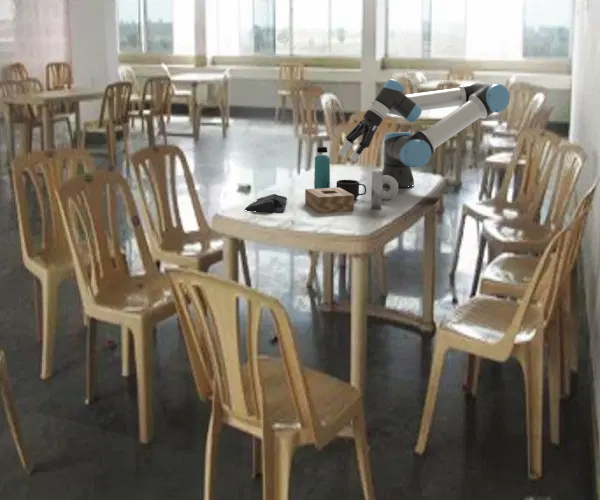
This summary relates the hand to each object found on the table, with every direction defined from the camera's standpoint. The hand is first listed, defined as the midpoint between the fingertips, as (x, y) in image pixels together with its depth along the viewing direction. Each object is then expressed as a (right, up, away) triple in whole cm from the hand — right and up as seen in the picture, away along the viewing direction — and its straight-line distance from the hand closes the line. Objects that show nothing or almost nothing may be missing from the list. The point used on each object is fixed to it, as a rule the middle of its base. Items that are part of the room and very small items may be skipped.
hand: (346, 157), depth 343 cm
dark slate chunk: (-31, -22, -20) cm, 43 cm away
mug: (+2, -17, -5) cm, 18 cm away
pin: (+10, -22, -22) cm, 32 cm away
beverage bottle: (-10, -16, +1) cm, 19 cm away
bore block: (-8, -21, -21) cm, 31 cm away
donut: (+16, -18, -6) cm, 24 cm away
